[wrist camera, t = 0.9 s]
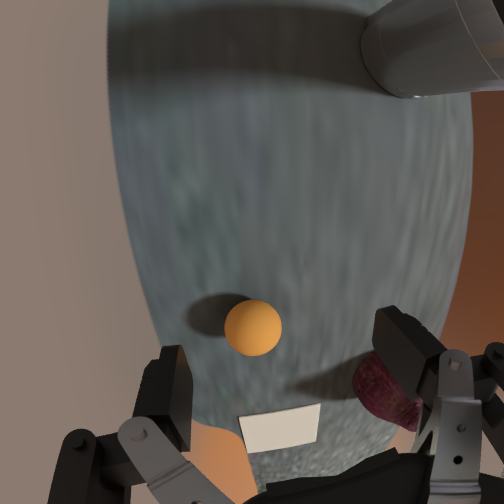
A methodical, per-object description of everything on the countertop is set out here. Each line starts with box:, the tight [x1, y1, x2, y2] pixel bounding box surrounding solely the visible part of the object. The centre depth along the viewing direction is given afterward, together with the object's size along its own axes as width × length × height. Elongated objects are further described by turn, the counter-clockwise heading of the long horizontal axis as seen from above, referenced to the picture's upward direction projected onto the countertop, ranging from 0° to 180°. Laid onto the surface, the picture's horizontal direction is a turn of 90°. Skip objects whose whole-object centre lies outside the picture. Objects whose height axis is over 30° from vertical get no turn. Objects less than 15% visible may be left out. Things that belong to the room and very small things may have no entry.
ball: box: [224, 300, 282, 356], centre depth 27 cm, size 6×6×6 cm
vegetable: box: [353, 352, 423, 432], centre depth 30 cm, size 10×10×15 cm
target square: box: [239, 403, 321, 453], centre depth 38 cm, size 12×12×1 cm
